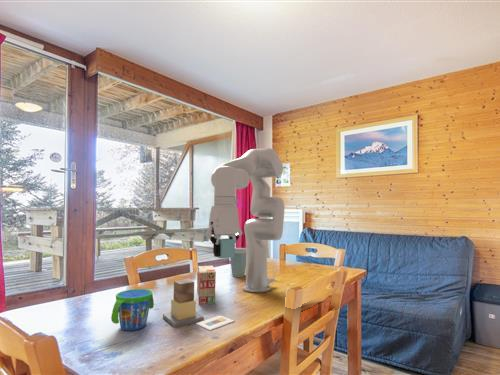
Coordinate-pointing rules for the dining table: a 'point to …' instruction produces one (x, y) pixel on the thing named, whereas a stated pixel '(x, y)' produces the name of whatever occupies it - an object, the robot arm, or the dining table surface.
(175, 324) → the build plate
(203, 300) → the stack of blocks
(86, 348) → the dining table surface
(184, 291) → the walnut brick
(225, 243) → the teal brick
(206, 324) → the tile
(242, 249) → the disposable coffee cup
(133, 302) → the snack cup
